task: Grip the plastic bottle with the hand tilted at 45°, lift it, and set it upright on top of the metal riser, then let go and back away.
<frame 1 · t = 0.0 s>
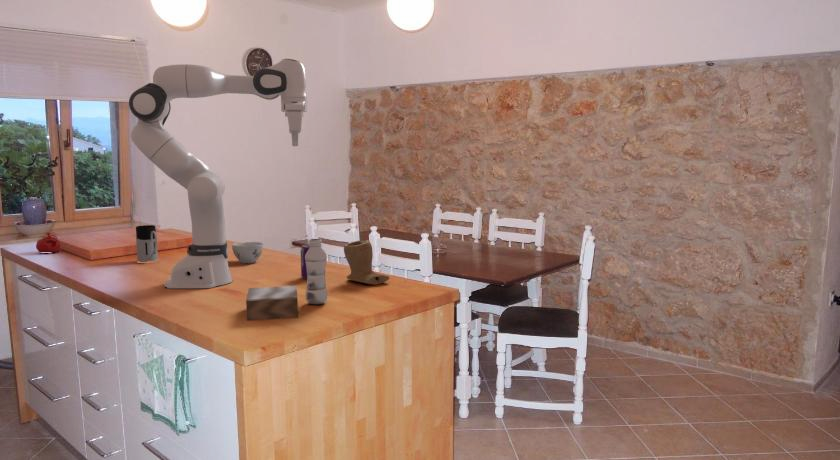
hand: (295, 146, 218), 48 cm above the table, tool pointing down, fingers open, 8 cm apart
pomegranate: (49, 253, 279), on the table
beverage can: (311, 278, 226), on the table
teacup: (246, 262, 256), on the table
metal riser: (273, 312, 179), on the table
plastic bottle: (316, 304, 189), on the table
grey and black mug: (150, 263, 255), on the table
brown boot: (364, 283, 218), on the table
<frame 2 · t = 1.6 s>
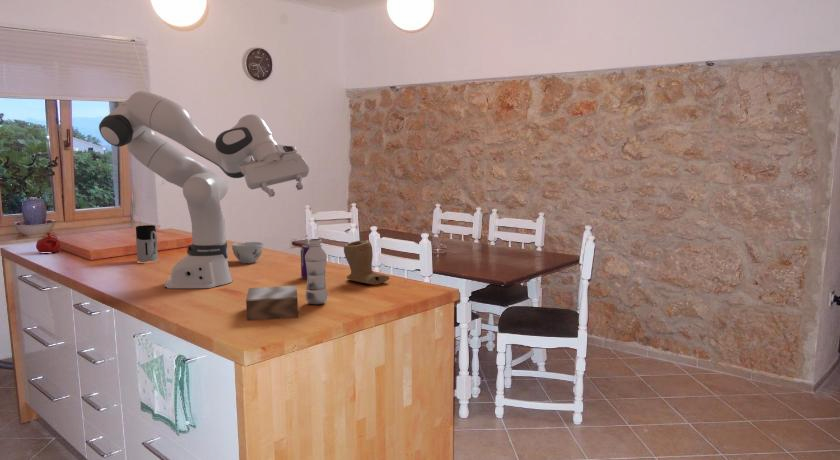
hand: (286, 192, 190), 34 cm above the table, tool tilted 40°, fingers open, 8 cm apart
nothing on the table moved.
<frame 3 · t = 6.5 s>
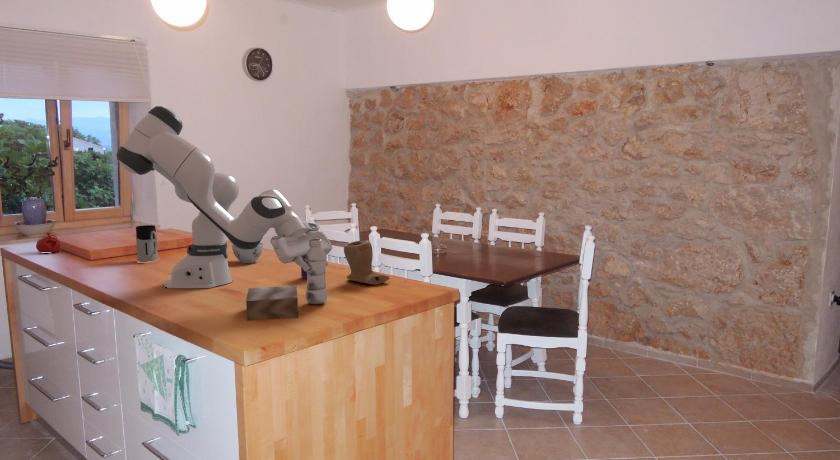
hand: (317, 267, 187), 11 cm above the table, tool tilted 45°, fingers closed on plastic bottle, 6 cm apart
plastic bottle: (316, 304, 189), on the table, touching gripper
everything else where it was.
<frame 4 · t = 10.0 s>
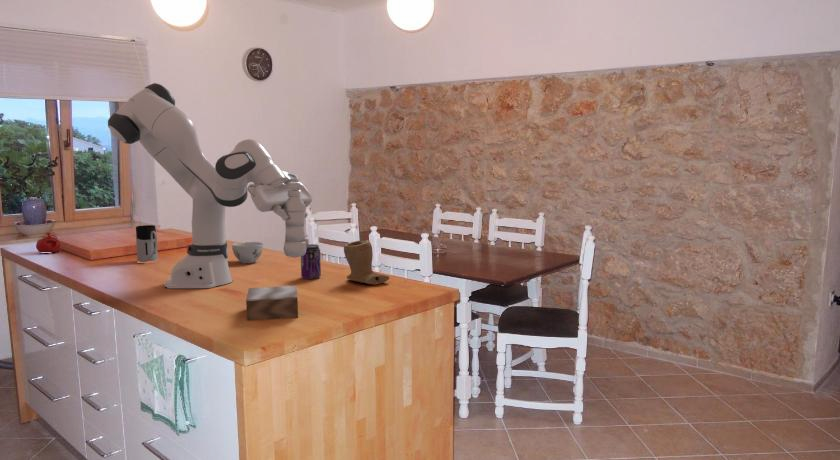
hand: (296, 217, 180), 27 cm above the table, tool tilted 45°, fingers closed on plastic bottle, 6 cm apart
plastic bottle: (295, 257, 182), point 15 cm above the table, touching gripper
everything else where it was.
when the fingers open (19 cm above the table, at t = 13.2 s): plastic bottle stays where it is, resting on metal riser.
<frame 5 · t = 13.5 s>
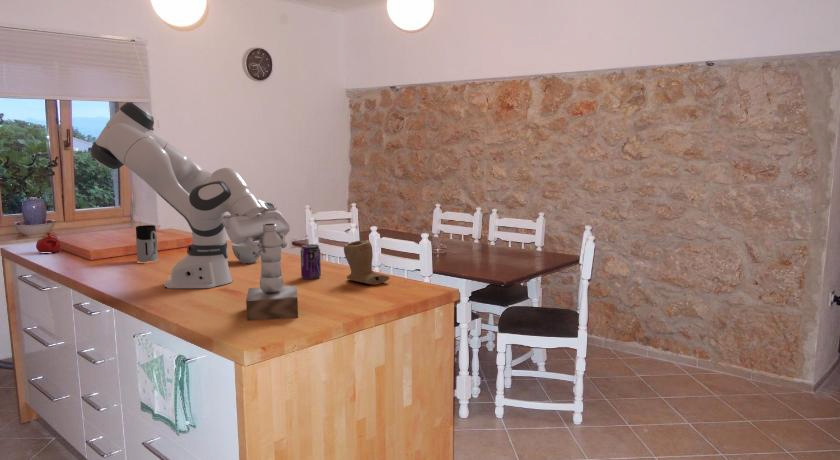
hand: (272, 249, 176), 19 cm above the table, tool tilted 45°, fingers open, 8 cm apart
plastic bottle: (271, 292, 178), point 6 cm above the table, touching metal riser
everything else where it was.
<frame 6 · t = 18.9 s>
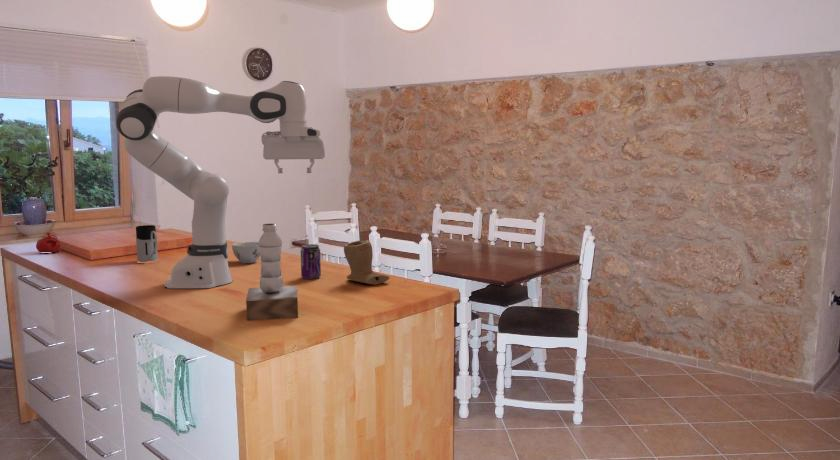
hand: (294, 173, 205), 39 cm above the table, tool pointing down, fingers open, 8 cm apart
nothing on the table moved.
at the end: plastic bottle inside the target area on the metal riser (0.2 cm from its centre), point 5.8 cm above the metal riser's base; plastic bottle tilted 0°; the gripper is holding nothing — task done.
